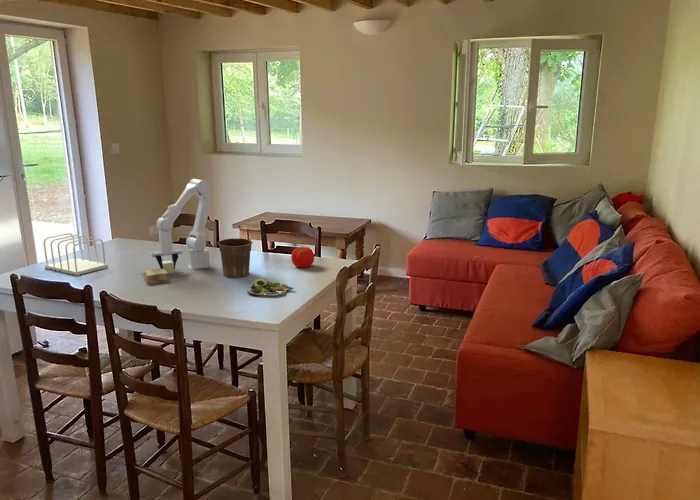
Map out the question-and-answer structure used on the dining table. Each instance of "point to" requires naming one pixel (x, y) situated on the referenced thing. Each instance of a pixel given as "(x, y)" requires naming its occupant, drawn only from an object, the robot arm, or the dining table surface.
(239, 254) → the plant pot
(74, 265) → the file sorter
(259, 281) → the salad plate
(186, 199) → the robot arm
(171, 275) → the building mat
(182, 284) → the dining table surface
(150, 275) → the walnut base block
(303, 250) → the tomato
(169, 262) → the sage cube
